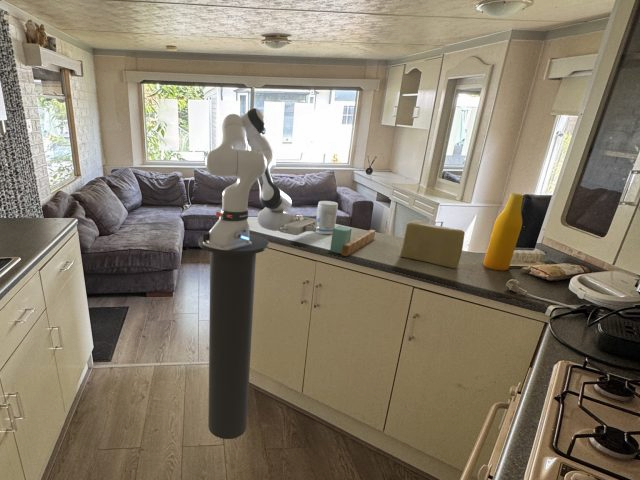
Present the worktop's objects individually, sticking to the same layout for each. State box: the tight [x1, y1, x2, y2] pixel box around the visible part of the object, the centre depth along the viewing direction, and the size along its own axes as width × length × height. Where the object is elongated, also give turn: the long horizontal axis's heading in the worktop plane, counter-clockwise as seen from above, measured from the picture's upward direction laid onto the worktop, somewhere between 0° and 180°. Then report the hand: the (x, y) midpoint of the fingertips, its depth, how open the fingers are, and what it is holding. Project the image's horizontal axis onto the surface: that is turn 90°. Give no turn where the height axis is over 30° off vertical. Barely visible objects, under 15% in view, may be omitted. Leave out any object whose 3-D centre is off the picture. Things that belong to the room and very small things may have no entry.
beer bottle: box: [483, 193, 524, 272], centre depth 167 cm, size 9×9×29 cm
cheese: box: [400, 219, 466, 269], centre depth 174 cm, size 22×10×15 cm, turn 44°
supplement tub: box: [315, 200, 339, 235], centre depth 210 cm, size 10×10×15 cm
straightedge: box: [341, 229, 376, 257], centre depth 191 cm, size 34×2×4 cm, turn 145°
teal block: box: [329, 225, 353, 255], centre depth 183 cm, size 6×6×10 cm
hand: (317, 229), depth 187 cm, fingers closed
